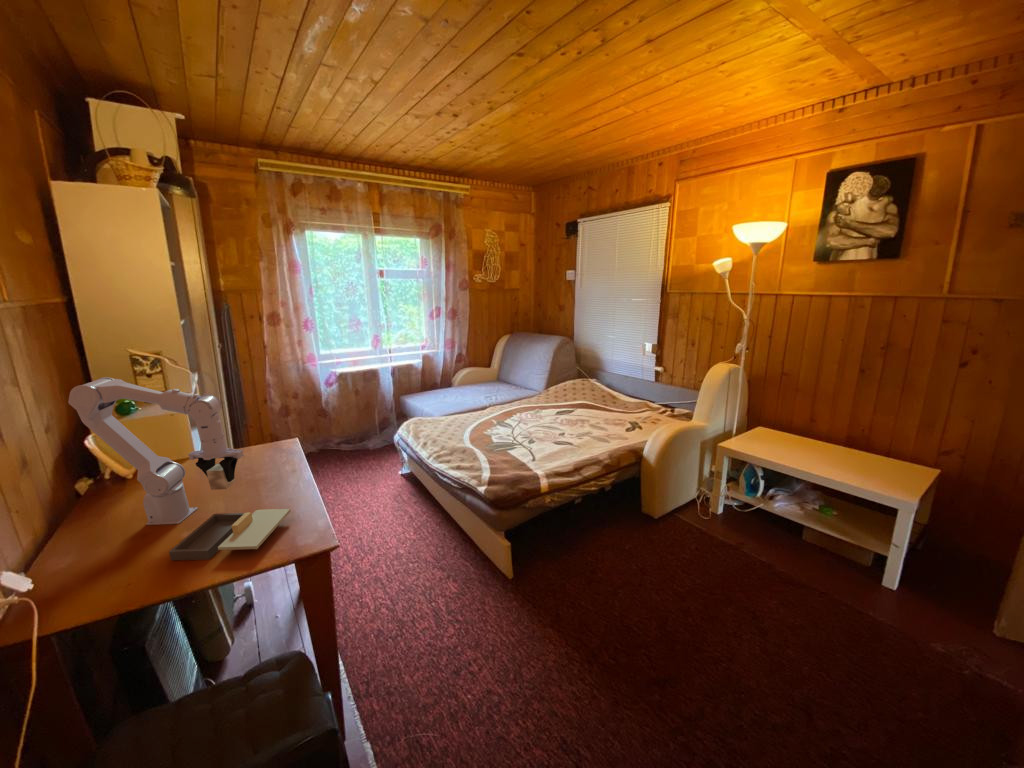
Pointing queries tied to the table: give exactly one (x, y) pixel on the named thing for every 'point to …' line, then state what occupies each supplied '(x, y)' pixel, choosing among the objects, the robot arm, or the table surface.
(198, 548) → the grey storage tray
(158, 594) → the table surface
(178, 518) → the robot arm
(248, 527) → the lid
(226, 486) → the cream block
